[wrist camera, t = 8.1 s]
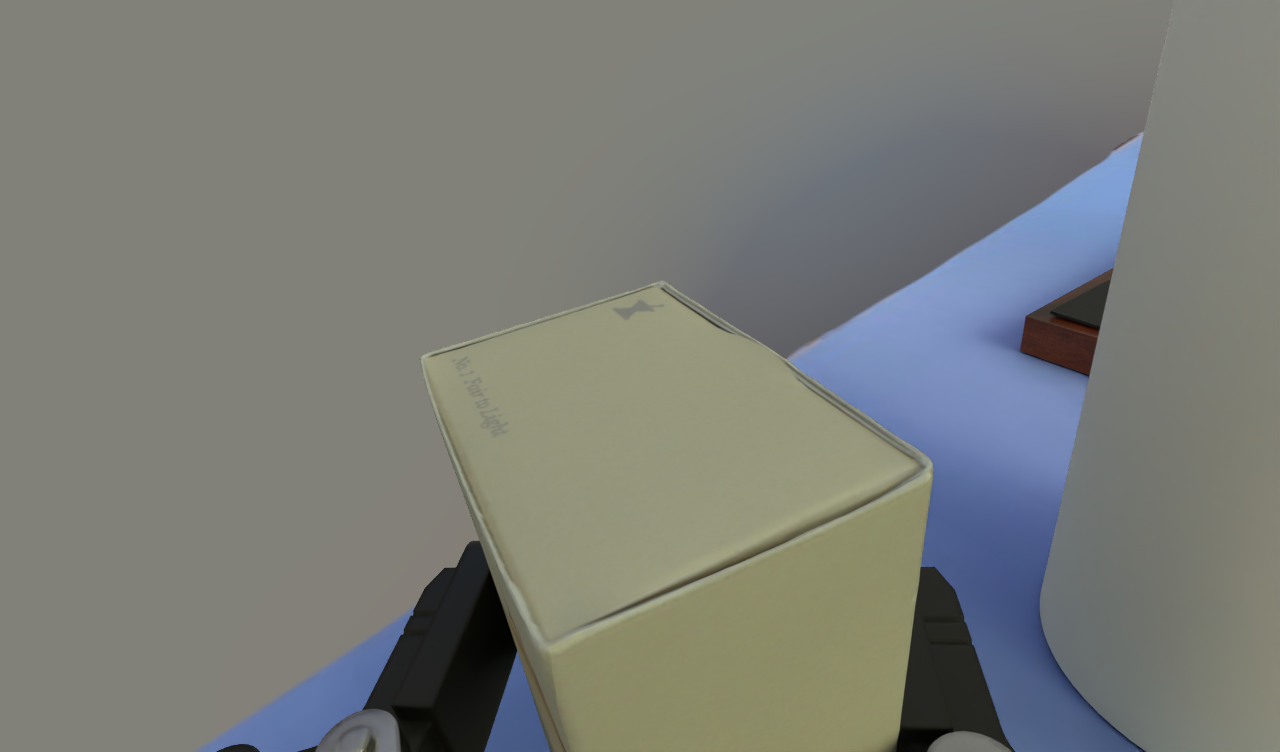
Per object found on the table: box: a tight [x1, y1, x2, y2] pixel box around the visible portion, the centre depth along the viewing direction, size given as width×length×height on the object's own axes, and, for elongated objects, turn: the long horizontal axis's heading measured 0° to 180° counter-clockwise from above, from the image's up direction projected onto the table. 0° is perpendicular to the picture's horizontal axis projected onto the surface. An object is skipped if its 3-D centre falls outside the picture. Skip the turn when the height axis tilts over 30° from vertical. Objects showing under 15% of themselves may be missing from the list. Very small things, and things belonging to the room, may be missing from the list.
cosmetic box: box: [420, 281, 934, 752], centre depth 11 cm, size 6×4×12 cm
